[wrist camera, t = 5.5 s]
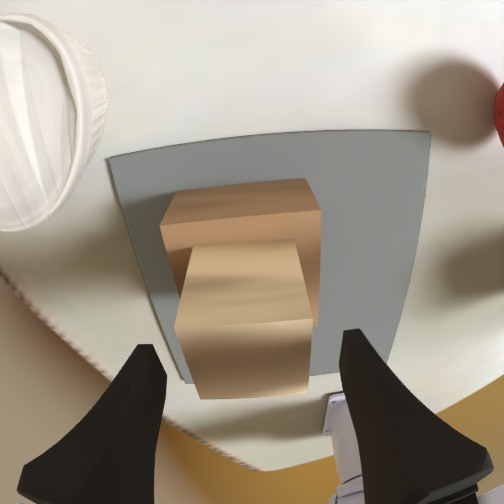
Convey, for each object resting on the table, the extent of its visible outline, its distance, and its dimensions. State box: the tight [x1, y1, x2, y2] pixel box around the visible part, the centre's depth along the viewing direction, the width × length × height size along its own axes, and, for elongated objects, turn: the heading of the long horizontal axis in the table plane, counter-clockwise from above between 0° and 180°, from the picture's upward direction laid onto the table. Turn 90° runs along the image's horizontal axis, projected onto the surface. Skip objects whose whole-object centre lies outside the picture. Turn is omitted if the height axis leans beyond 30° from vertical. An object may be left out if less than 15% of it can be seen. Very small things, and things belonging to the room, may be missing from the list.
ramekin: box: [0, 13, 107, 233], centre depth 12 cm, size 11×11×5 cm
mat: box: [109, 130, 431, 384], centre depth 21 cm, size 20×18×1 cm
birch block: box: [174, 239, 313, 399], centre depth 13 cm, size 4×4×5 cm
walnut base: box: [160, 178, 321, 327], centre depth 17 cm, size 7×7×4 cm
